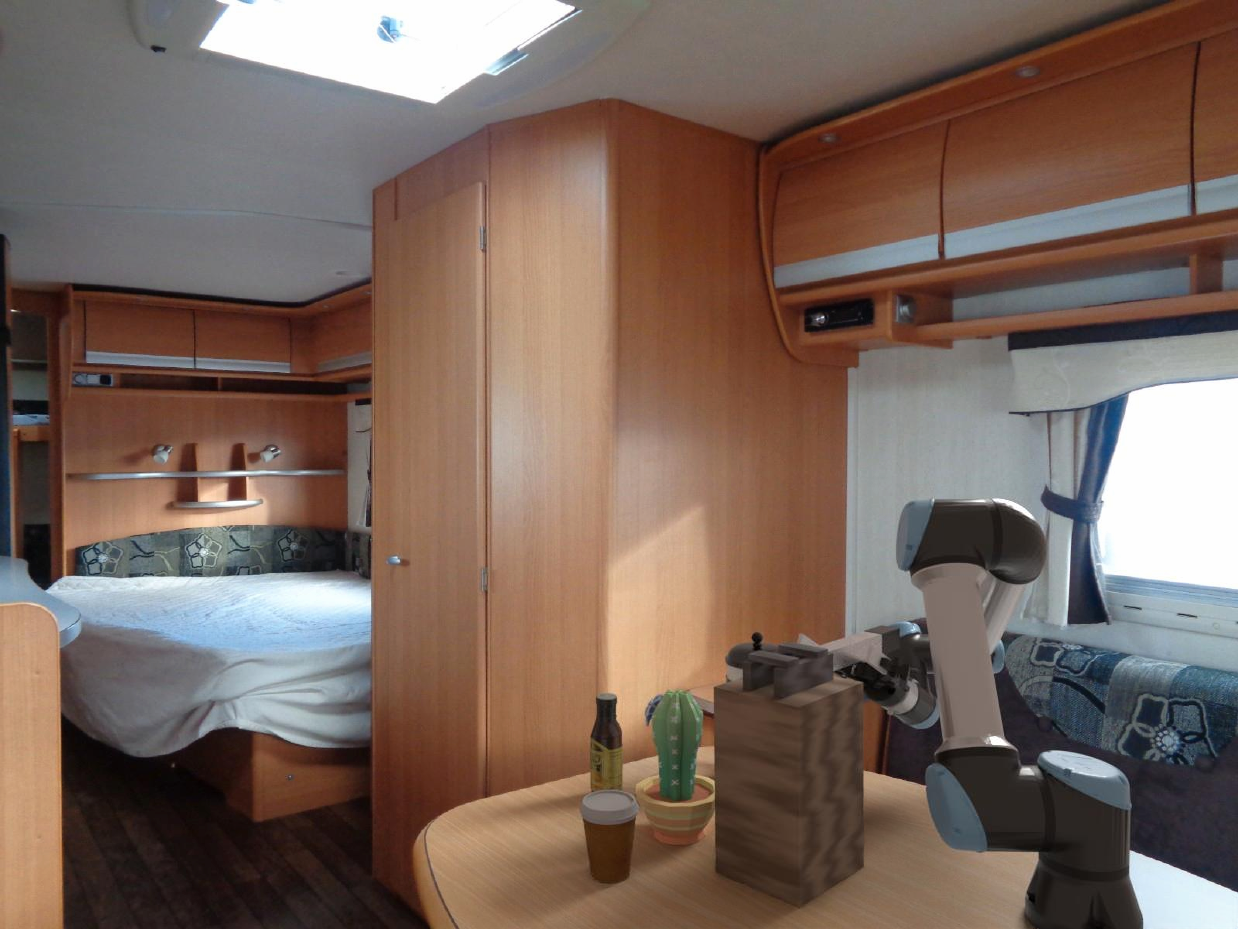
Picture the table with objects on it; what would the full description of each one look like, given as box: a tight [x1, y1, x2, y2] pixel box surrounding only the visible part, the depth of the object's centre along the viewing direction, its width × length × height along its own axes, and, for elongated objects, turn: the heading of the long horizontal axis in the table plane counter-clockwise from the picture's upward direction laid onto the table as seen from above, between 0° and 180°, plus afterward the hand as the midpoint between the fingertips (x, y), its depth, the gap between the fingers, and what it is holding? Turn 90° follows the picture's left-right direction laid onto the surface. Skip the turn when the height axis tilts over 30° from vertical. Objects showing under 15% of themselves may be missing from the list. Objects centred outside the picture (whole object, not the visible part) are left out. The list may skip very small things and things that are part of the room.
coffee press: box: [724, 631, 779, 683], centre depth 190 cm, size 17×16×30 cm
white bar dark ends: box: [801, 624, 900, 671], centre depth 163 cm, size 26×4×4 cm, turn 135°
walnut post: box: [713, 641, 865, 908], centre depth 151 cm, size 18×16×35 cm
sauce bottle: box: [589, 692, 624, 793], centre depth 181 cm, size 6×6×20 cm
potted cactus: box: [635, 688, 715, 846], centre depth 165 cm, size 15×15×25 cm
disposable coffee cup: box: [579, 790, 640, 884], centre depth 151 cm, size 10×10×12 cm
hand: (832, 647), depth 159 cm, fingers open, 13 cm apart
